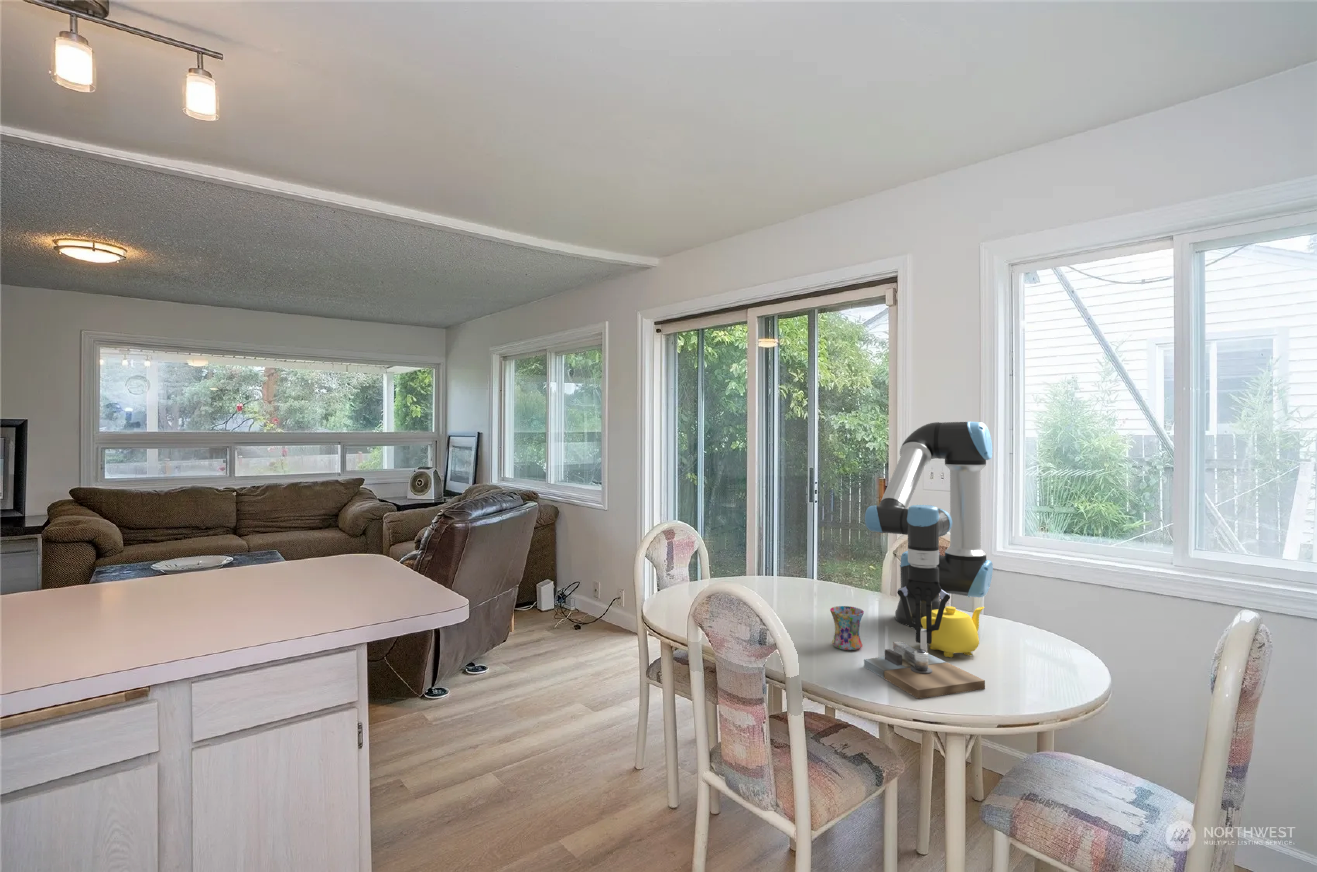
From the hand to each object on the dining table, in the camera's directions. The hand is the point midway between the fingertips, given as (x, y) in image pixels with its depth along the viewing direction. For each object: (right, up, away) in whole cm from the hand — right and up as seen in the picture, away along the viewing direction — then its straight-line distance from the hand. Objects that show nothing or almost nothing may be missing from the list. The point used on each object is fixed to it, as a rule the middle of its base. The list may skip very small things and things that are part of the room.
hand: (923, 655), depth 165 cm
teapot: (+14, -4, +13) cm, 19 cm away
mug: (-15, -4, +18) cm, 24 cm away
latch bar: (-4, -1, -2) cm, 5 cm away
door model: (-3, -4, -7) cm, 8 cm away
